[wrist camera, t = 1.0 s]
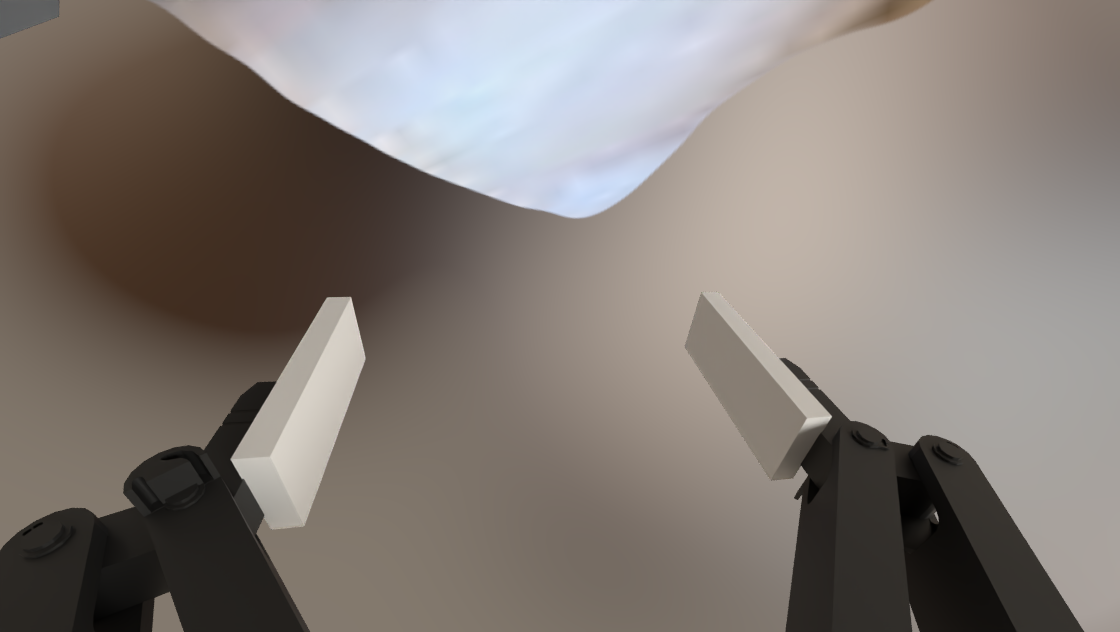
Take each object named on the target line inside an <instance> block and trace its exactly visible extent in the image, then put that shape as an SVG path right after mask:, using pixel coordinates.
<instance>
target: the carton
mask: <svg viewBox="0 0 1120 632" xmlns="http://www.w3.org/2000/svg"><path fill="white" fill-rule="evenodd" d="M57 17H59V0H0V38H3V37H5V36H8V35H11V34H13V33H16V32H19V31H22V30H24V29H27V28H30V27H32V26H35V25H38V24H40V23H43V22H46V21H48V20H51V19H54V18H57Z"/></svg>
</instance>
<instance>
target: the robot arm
mask: <svg viewBox="0 0 1120 632" xmlns="http://www.w3.org/2000/svg"><path fill="white" fill-rule="evenodd" d="M685 348H686V350H687V351H688V353H689V354H690V356H691V357H692V359H693V360H694V362H695V363H696V365H697V367H698V368H699V370H700V371H701V373H702V374H703V376H704V378H705V379H706V381H707V382H708V384H709V385H710V387H711V388H712V390H713V392H714V393H715V395H716V396H717V398H718V399H719V401H720V403H721V404H722V406H723V407H724V409H725V410H726V411H727V413H728V415H729V416H730V418H731V420H732V421H733V423H734V424H735V426H736V427H737V429H738V430H739V432H740V434H741V435H742V437H743V438H744V440H745V441H746V443H747V444H748V446H749V448H750V449H751V451H752V452H753V454H754V455H755V457H756V459H757V460H758V462H759V463H760V465H761V466H762V468H763V469H764V471H765V473H766V474H767V476H768V477H769V479H770V480H781V479H791V478H793V477H794V476H795V474H796V473H797V471H798V469H799V468H800V466H802V467H803V469H804V470H805V471H806V473H807V474H808V477H807V478H806V480H805V481H804V483H803V484H802V486H801V487H800V489H799V490H798V492H797V493H796V495H795V497H794V498H795V499H797V500H798V499H799V498H800V496H801V495H802V503H801V510H800V518H799V526H798V535H797V543H796V551H795V559H794V567H793V575H792V583H791V592H790V600H789V607H788V608H789V609H788V615H787V616H788V617H787V624H786V632H912V625H911V616H910V605H911V608H912V611H913V614H914V617H915V619H916V622H917V625H918V628H919V631H920V632H1084V631H1083V629H1082V628H1081V626H1080V625H1079V623H1078V621H1077V620H1076V618H1075V617H1074V615H1073V614H1072V612H1071V610H1070V609H1069V607H1068V606H1067V604H1066V603H1065V601H1064V599H1063V598H1062V596H1061V595H1060V593H1059V592H1058V590H1057V589H1056V587H1055V585H1054V584H1053V582H1052V581H1051V579H1050V578H1049V576H1048V574H1047V573H1046V571H1045V570H1044V568H1043V567H1042V565H1041V564H1040V562H1039V560H1038V559H1037V557H1036V555H1035V554H1034V552H1033V551H1032V549H1031V548H1030V546H1029V545H1028V543H1027V541H1026V540H1025V538H1024V537H1023V535H1022V534H1021V532H1020V530H1019V529H1018V527H1017V526H1016V524H1015V523H1014V521H1013V519H1012V518H1011V516H1010V515H1009V513H1008V512H1007V510H1006V509H1005V507H1004V505H1003V504H1002V502H1001V501H1000V499H999V497H998V496H997V494H996V493H995V491H994V490H993V488H992V487H991V485H990V483H989V482H988V480H987V479H986V477H985V476H984V474H983V473H982V471H981V469H980V468H979V466H978V465H977V463H976V461H975V460H974V459H973V458H972V457H971V456H970V454H969V453H967V452H966V451H965V450H964V449H962V448H961V447H960V446H958V445H957V444H955V443H952V442H951V441H949V440H946V439H943V438H941V437H938V436H932V435H926V436H922V437H921V438H920V439H919V441H918V442H917V443H916V444H915V445H914V446H911V445H906V444H900V443H895V442H890V441H889V440H888V439H887V438H886V437H885V435H883V434H882V433H881V432H879V431H878V430H877V429H875V428H873V427H871V426H869V425H867V424H864V423H861V422H857V421H850V420H849V419H848V418H847V417H846V416H845V415H844V414H843V413H842V412H841V411H840V410H839V409H838V407H836V405H834V403H833V402H832V401H831V400H830V399H829V398H828V397H827V396H826V395H825V394H824V393H823V392H822V391H821V390H819V389H818V386H817V385H816V384H815V383H814V382H813V381H810V378H809V377H808V376H807V375H806V374H805V373H804V372H803V371H802V370H801V368H799V367H798V366H796V365H795V364H793V363H792V362H790V361H789V360H787V359H786V358H778V357H777V356H776V355H775V353H774V352H773V351H772V350H771V349H770V348H769V347H768V346H767V345H766V344H765V342H764V341H763V340H762V339H761V338H760V337H759V336H758V335H757V334H756V333H755V331H754V330H753V329H752V328H751V327H750V326H749V325H748V324H747V323H746V322H745V320H743V318H742V317H741V316H740V315H739V314H738V313H737V312H736V311H735V309H734V308H733V307H732V306H731V305H730V304H729V303H728V302H727V301H726V299H725V298H724V297H723V296H722V295H721V294H720V293H719V292H701V295H700V298H699V301H698V305H697V308H696V312H695V315H694V318H693V321H692V324H691V328H690V331H689V334H688V337H687V341H686V344H685ZM365 359H366V358H365V354H364V350H363V345H362V341H361V337H360V334H359V329H358V325H357V321H356V316H355V312H354V308H353V304H352V300H351V297H331V298H329V297H328V298H327V299H326V300H325V302H324V304H323V305H322V307H321V309H320V310H319V312H318V314H317V315H316V317H315V319H314V321H313V322H312V324H311V325H310V327H309V329H308V330H307V332H306V334H305V335H304V337H303V339H302V340H301V342H300V344H299V346H298V347H297V349H296V351H295V352H294V354H293V356H292V357H291V359H290V361H289V362H288V364H287V366H286V367H285V369H284V371H283V372H282V374H281V376H280V377H279V379H278V381H277V382H257V383H256V384H255V385H254V386H252V387H251V388H250V389H249V390H247V391H246V392H245V393H244V394H242V395H241V396H240V398H239V399H238V401H237V402H236V404H235V405H234V407H233V408H232V409H231V413H230V414H228V415H227V417H226V418H225V420H224V421H223V425H222V426H220V427H219V429H218V430H217V432H216V433H215V435H214V436H213V438H212V439H211V440H210V442H209V444H208V445H207V446H206V448H205V450H202V449H201V448H200V447H195V446H189V445H188V446H181V447H175V448H172V449H169V450H166V451H163V452H160V453H158V454H156V455H155V456H153V457H151V458H149V459H147V460H146V461H144V462H143V463H142V464H141V465H139V466H138V467H137V468H136V469H135V470H134V471H132V472H131V474H130V475H129V477H128V478H127V480H126V481H125V483H124V492H123V493H124V495H125V496H126V497H127V498H128V499H129V500H130V501H131V503H132V504H133V505H134V506H135V507H133V508H129V509H126V510H123V511H120V512H117V513H113V514H110V515H107V516H104V517H100V518H97V517H96V516H95V515H94V514H93V513H92V512H91V511H89V510H87V509H85V508H70V509H66V510H62V511H58V512H54V513H52V514H50V515H47V516H45V517H43V518H41V519H39V520H36V521H35V522H33V523H32V524H30V525H29V526H27V527H26V528H24V529H22V530H21V531H19V532H18V533H17V534H16V535H15V536H13V537H12V538H11V539H10V540H9V541H8V542H7V543H6V544H5V545H4V546H3V547H2V549H1V550H0V632H152V624H153V611H154V610H153V609H154V598H155V597H157V596H160V595H162V594H165V593H167V592H170V593H171V596H172V599H173V602H174V605H175V607H176V610H177V613H178V616H179V619H180V622H181V625H182V628H183V630H184V632H310V631H309V629H308V627H307V625H306V623H305V621H304V620H303V618H302V616H301V614H300V612H299V610H298V609H297V607H296V605H295V603H294V602H293V600H292V598H291V596H290V594H289V592H288V590H287V589H286V587H285V585H284V583H283V581H282V579H281V577H280V576H279V574H278V572H277V570H276V568H275V567H274V565H273V563H272V561H271V559H270V557H269V555H268V554H267V552H266V550H265V548H264V547H263V544H262V543H261V541H260V539H259V537H258V536H257V534H256V533H257V530H258V528H259V526H260V524H261V522H262V519H263V517H264V518H265V520H266V522H267V524H268V525H269V527H270V529H271V530H272V529H282V528H291V527H302V526H304V525H305V522H306V520H307V517H308V515H309V512H310V509H311V506H312V503H313V501H314V498H315V495H316V493H317V490H318V487H319V484H320V482H321V479H322V476H323V473H324V471H325V468H326V465H327V463H328V460H329V457H330V454H331V451H332V449H333V446H334V443H335V441H336V438H337V435H338V433H339V430H340V427H341V424H342V422H343V419H344V416H345V413H346V411H347V408H348V405H349V402H350V400H351V397H352V394H353V391H354V389H355V386H356V383H357V380H358V378H359V375H360V372H361V370H362V367H363V364H364V361H365ZM936 511H937V514H938V517H939V522H938V521H937V519H936V517H935V515H934V513H935V512H936ZM909 603H910V605H909Z"/></svg>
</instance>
